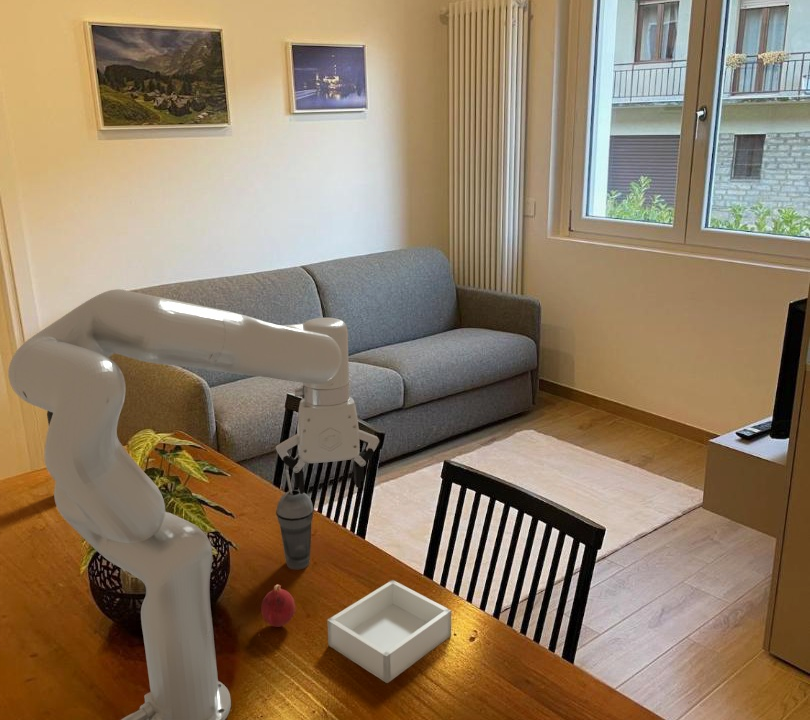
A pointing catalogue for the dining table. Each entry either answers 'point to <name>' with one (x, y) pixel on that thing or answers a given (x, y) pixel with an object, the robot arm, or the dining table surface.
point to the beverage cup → (295, 526)
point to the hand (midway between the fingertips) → (329, 487)
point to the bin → (389, 630)
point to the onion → (278, 607)
